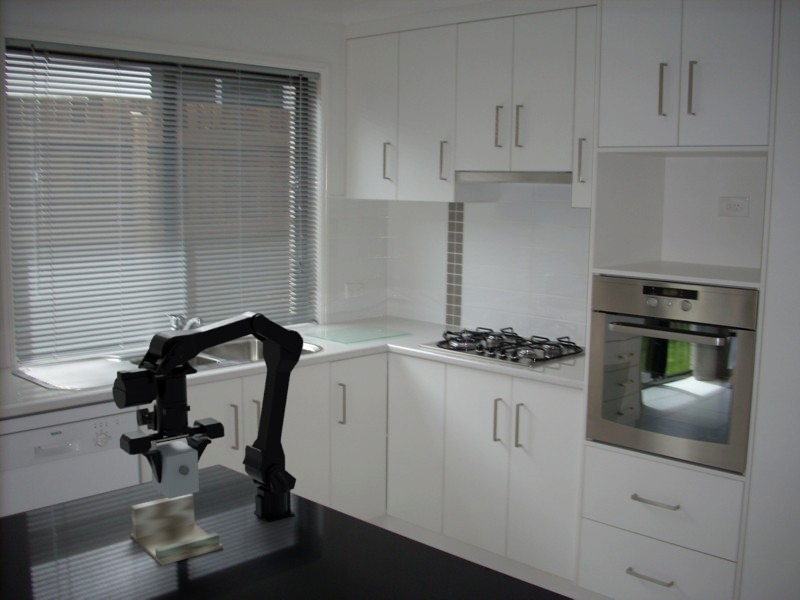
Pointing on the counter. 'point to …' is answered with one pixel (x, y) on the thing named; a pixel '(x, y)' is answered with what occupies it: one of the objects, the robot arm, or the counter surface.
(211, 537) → the cleat board
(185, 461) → the cabinet block
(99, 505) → the counter surface
